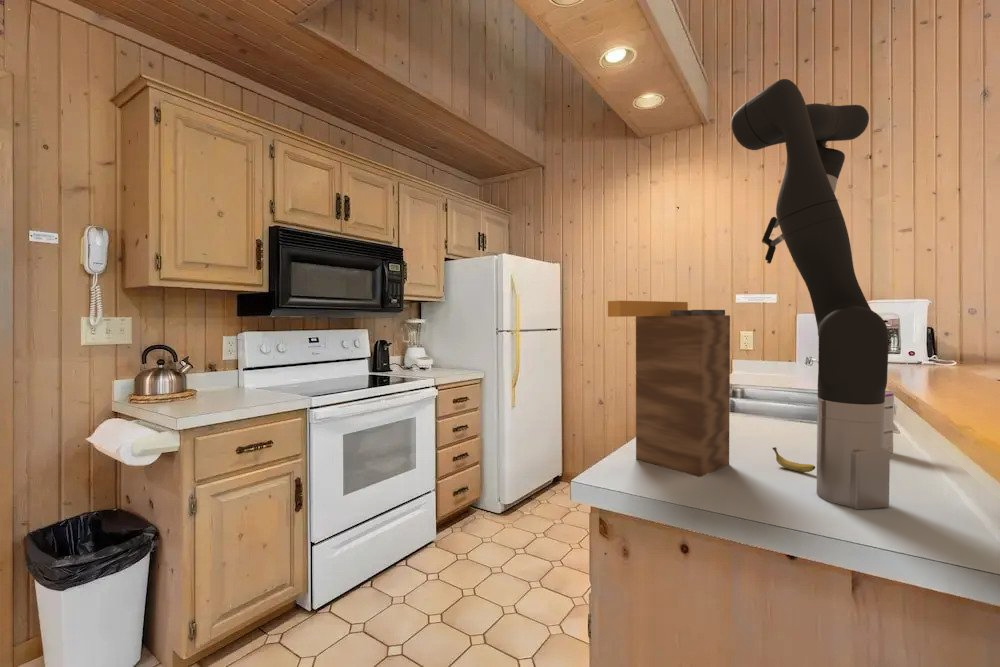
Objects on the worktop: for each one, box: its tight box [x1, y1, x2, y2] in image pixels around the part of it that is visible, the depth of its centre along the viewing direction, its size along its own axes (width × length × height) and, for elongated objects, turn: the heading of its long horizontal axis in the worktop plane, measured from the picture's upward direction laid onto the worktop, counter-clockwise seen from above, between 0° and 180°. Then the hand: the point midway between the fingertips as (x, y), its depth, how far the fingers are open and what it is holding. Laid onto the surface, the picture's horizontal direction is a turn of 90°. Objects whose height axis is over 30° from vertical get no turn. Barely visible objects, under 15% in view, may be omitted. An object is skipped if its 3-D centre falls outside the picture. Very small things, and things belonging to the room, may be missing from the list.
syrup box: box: [884, 389, 895, 454], centre depth 108 cm, size 6×6×14 cm
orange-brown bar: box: [607, 300, 689, 318], centre depth 102 cm, size 24×3×3 cm, turn 126°
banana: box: [772, 446, 816, 473], centre depth 96 cm, size 8×2×4 cm, turn 32°
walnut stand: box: [635, 309, 731, 478], centre depth 101 cm, size 12×15×33 cm
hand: (788, 267), depth 108 cm, fingers open, 8 cm apart
